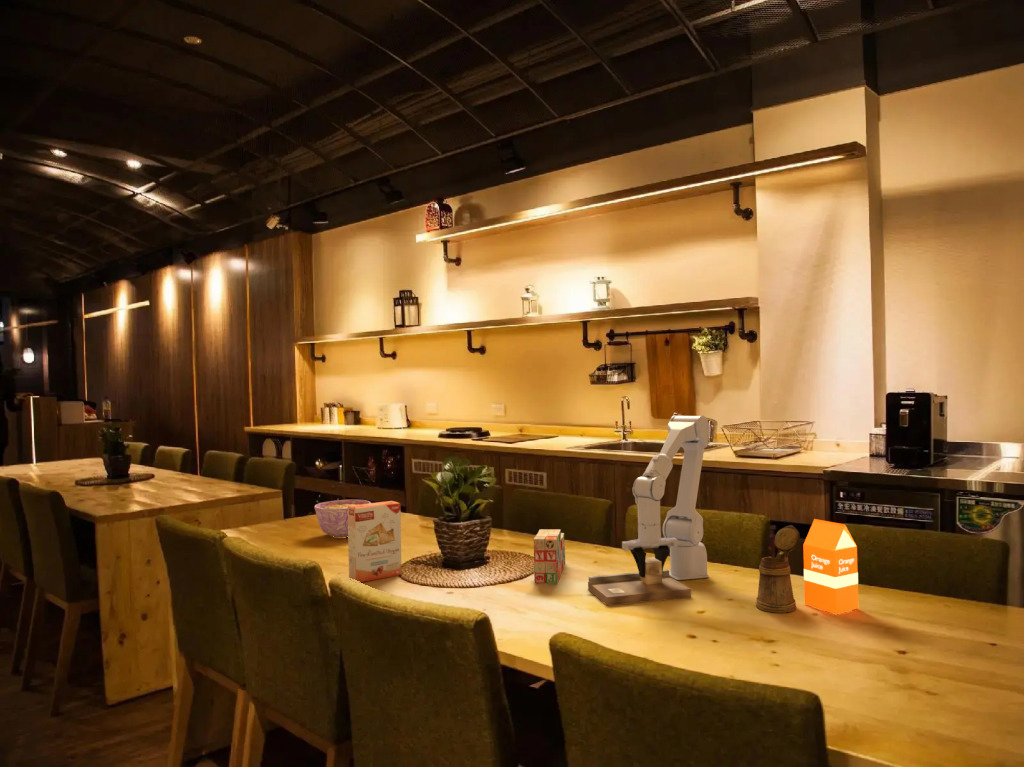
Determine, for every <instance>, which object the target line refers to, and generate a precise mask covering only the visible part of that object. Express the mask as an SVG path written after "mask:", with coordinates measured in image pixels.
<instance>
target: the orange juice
mask: <svg viewBox="0 0 1024 767" xmlns="http://www.w3.org/2000/svg"><path fill="white" fill-rule="evenodd" d="M802 545H803V582H804V585H803V586H804V606H806V605H809V606H812V607H816V608H819V609H821V610H820V611H822V610H825V611H828V612H831V613H835V614H838V613H842V612H845V611H849V610H852V609H856V608H858V609H859V572H858V546H857V544H856V542H855V541H854V538H853V537H852V535H851V532H850V531H849V529H848V527H847V526H846V524H843V523H838V522H833V521H827V520H822V519H817V518H814V519H813V521H812V524H811V526H810V528H809V531H808V533H807V536H806V537H805V540H804V543H803V544H802ZM809 606H808V607H809ZM812 607H811V608H812ZM825 611H824V612H825ZM828 612H827V613H828ZM831 613H830V614H831Z"/></svg>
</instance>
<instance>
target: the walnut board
mask: <svg viewBox="0 0 1024 767" xmlns="http://www.w3.org/2000/svg"><path fill="white" fill-rule="evenodd" d="M669 571H670V569H663V571H662V583H659V584H649V585H647V584H646V583H644V582H643V581H641V580H640V576H639V571H635V572H626V573H624V572H623V573H614V574H604V575H591V576H588V581H587V589H588V591H589V592H590V593H592V594H593V595H594V596H595V597H597V599H599V600H600V601H601V602H603V603H604V604H605V605H606V606H616V605H617V606H618V605H626V604H634V603H635V604H637V603H646V602H654V601H655V602H656V601H657V602H658V601H664V600H665V601H667V600H675V599H686V598H692V588H690V587H688V586H686V585H685V584H683V583H682V582H680V581H679V580H676V579H674V578H672V577H671V576H669Z"/></svg>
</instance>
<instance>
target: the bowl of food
mask: <svg viewBox="0 0 1024 767" xmlns="http://www.w3.org/2000/svg"><path fill="white" fill-rule="evenodd" d="M370 503H372V502H371V501H369V500H366V499H365V500H364V499H340V500H331V501H324V502H319V503H317V504H315V505H314V511H315V514H316V518H317V522H318V524H319V525H318V526H319V527H320V530H321V531H322V532H323V533H324V534H325V535H328V536H331V537H332V536H334V537H347V536H348V506H352V505H361V504H370Z"/></svg>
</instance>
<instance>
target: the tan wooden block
mask: <svg viewBox="0 0 1024 767" xmlns="http://www.w3.org/2000/svg"><path fill="white" fill-rule="evenodd" d="M640 580H641V581H643V582H644V583H646V584H647V585H649V584H659V583H662V562H661V561H659V560H658V559H656V558H655V556H652V557H651V556H650V557H646V559H645V578H642V577H640Z"/></svg>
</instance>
